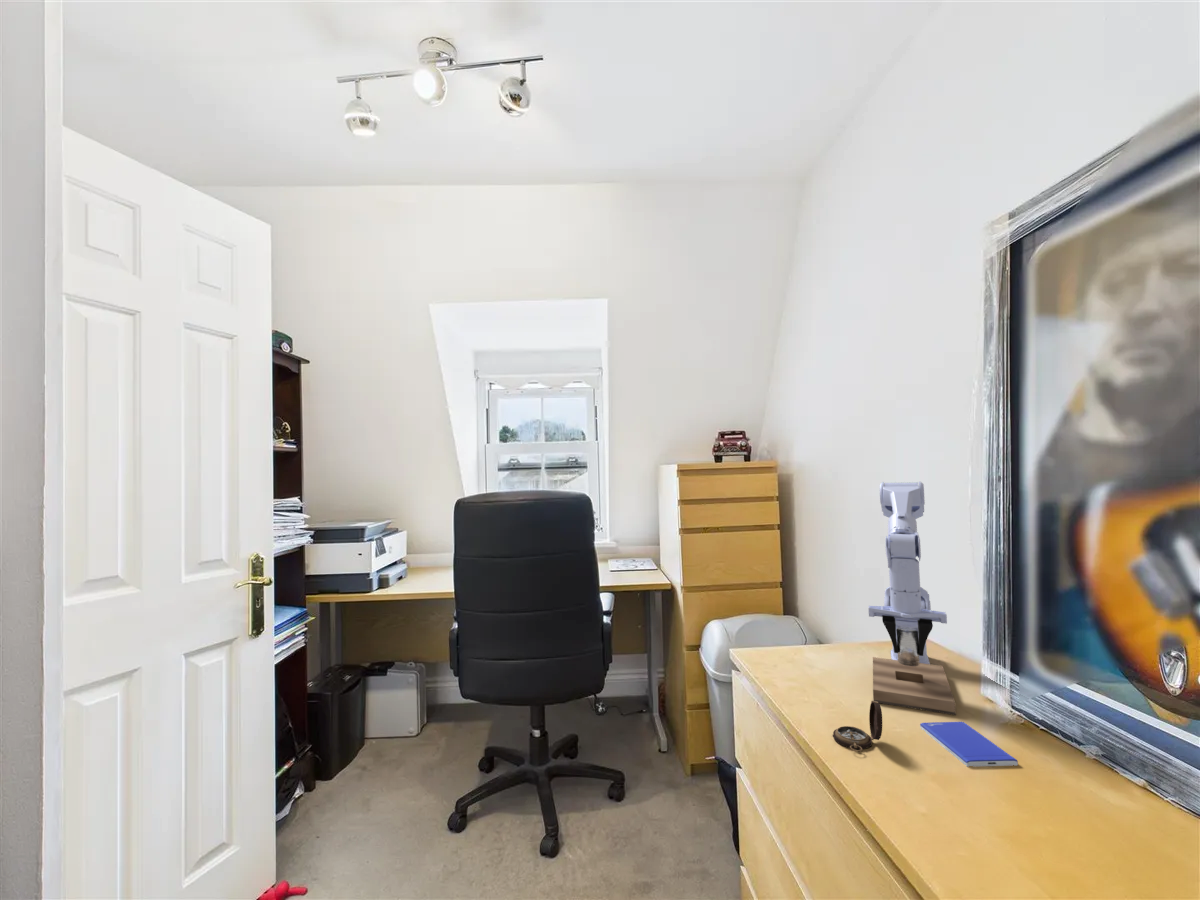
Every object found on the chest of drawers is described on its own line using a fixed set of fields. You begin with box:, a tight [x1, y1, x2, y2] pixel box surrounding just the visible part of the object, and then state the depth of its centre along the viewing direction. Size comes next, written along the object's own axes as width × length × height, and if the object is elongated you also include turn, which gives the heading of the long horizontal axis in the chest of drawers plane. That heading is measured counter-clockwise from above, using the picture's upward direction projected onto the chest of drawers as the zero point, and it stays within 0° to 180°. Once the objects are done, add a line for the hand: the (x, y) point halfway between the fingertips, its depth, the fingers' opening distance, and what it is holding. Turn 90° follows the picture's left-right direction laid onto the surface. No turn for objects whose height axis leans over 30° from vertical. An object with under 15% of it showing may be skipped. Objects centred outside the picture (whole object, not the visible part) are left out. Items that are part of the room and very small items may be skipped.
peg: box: [897, 627, 920, 666], centre depth 112 cm, size 4×4×7 cm
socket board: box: [872, 656, 957, 716], centre depth 112 cm, size 20×14×2 cm
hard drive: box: [919, 721, 1019, 768], centre depth 90 cm, size 2×8×12 cm
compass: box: [832, 700, 883, 752], centre depth 91 cm, size 8×8×7 cm
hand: (908, 652), depth 112 cm, fingers closed on peg, 4 cm apart
